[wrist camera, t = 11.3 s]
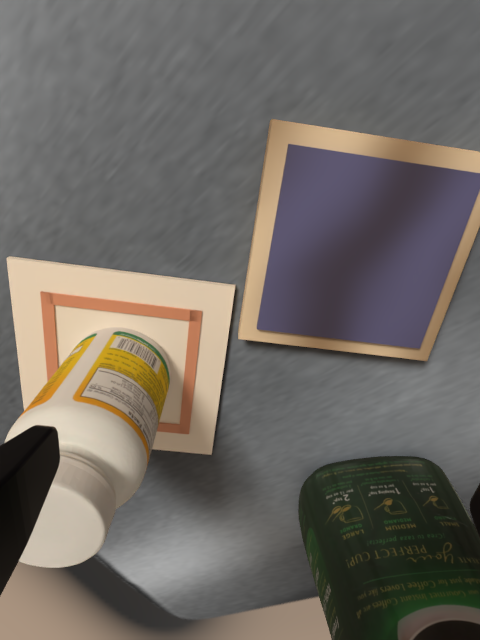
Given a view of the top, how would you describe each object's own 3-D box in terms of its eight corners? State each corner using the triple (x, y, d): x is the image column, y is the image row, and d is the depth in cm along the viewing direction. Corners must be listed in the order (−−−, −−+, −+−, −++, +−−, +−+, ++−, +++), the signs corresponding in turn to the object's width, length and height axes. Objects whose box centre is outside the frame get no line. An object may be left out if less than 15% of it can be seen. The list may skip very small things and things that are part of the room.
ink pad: (492, 155, 17) (512, 156, 16) (418, 351, 21) (429, 363, 20) (270, 120, 16) (272, 118, 15) (238, 330, 20) (238, 341, 19)
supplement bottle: (163, 319, 20) (109, 458, 11) (178, 404, 22) (143, 575, 13) (59, 328, 20) (-76, 473, 11) (85, 412, 22) (-11, 587, 13)
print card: (235, 284, 19) (235, 287, 19) (211, 451, 24) (211, 455, 23) (10, 256, 19) (5, 258, 18) (29, 433, 23) (26, 438, 23)
